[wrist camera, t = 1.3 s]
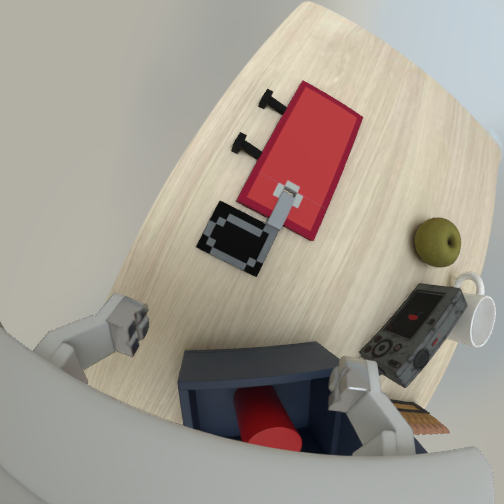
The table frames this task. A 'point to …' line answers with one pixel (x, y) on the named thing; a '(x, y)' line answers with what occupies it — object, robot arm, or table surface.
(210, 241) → the red board with handle
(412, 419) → the ammunition clip
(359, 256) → the table surface
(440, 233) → the apple
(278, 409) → the can
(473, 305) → the mug
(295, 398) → the dark blue open box
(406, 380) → the camera
